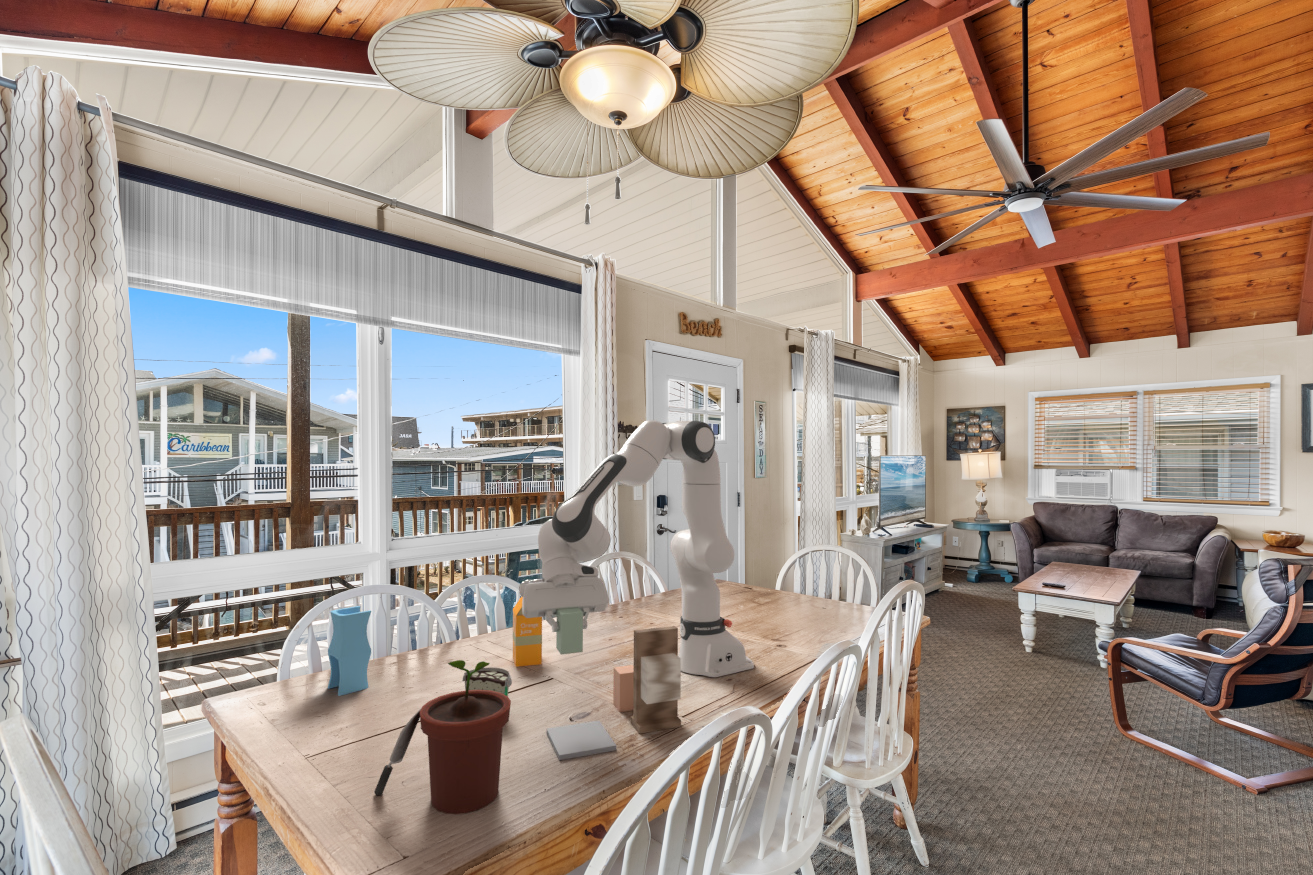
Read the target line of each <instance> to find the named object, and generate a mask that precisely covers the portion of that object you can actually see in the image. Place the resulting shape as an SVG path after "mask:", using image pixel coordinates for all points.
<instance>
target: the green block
mask: <svg viewBox="0 0 1313 875" xmlns="http://www.w3.org/2000/svg"><path fill="white" fill-rule="evenodd" d="M583 619H584V617H583V612H582V611H581V610H580V609H579V608H569V609H558V610H557V615H556V621H559V626H560V630H559V632H556V634H555V635H556V640H555V641H556V642H555V643H556V645H555V646H556V650H557V651H558V653H559V654H560V655H562V656H563V655H569V654H577V653H578V654H580V653H583V651H584V649H583V648H584V629H583Z"/></svg>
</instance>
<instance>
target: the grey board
mask: <svg viewBox="0 0 1313 875" xmlns="http://www.w3.org/2000/svg"><path fill="white" fill-rule="evenodd" d="M546 735H547V738H548V739H549V742H550V744H551V746H552V748H553V750H554V752H555V754H556V756H557V758H558V760H559V761H563V760H570V759H576V758H580V757H586V756H591V755H597V754H603V753H608V752H609V753H610V752H613V751H617V744H616V742H615V741H614V740H613V739H612V737H611V735H610V733H609V732H608V731H607V730H606V728H605V726H604V725H603V724H602V723H601V720H599V719H598V720H590V721H586V722H585V721H584V722H580V723H574V724H566V725H560V726H554V727H547V728H546Z"/></svg>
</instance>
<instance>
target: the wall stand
mask: <svg viewBox="0 0 1313 875" xmlns="http://www.w3.org/2000/svg"><path fill="white" fill-rule="evenodd" d="M678 640H679V629H678V627H676V626H675V625H673V626H662V627H661V626H660V627H654V628H644V629H643V628H642V629H635V630H633V666H634V690H633V710H632V711H633V713H632V714H633V715H630V719H629V720H630V724H631V726H632V727H633V728H634V729H635V730H636V732H637V733H638V734H640V735H641V734H646V733H652V732H656V731H657V732H659V731H663V730H668V729H675V728H681V727H682V719H681V718H680V717H679V716H678V712H679V710H678V702H679V700H681V698H682V697H681V695H682V694H681V692H682V690H681V688H682V687H681V686H682V683H681V682H682V680H681V679H682V677H681V676H682V675H681V674H682V673H681V672H682V671H681V658H680V657H678V656H679V641H678Z"/></svg>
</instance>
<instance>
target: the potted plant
mask: <svg viewBox="0 0 1313 875" xmlns="http://www.w3.org/2000/svg"><path fill="white" fill-rule="evenodd" d="M447 664H448V665H449V666H451V667H453V668H456V669H458V670H460V671H464V672H467V685H466V690H465V689H464V690H461V691H454V692H450V693H447V694H442V695H440V696H437V697H435V698H433V699H431V700H429V701H427V702H426V703H425V704H423V705H422V706H421V708H420V709H419V710H418V711H417V712H415V714H414V715H413V716H412V717H411V718H410V720H409V721H408V722H407V723H406V724H405V726H404V727H403V728H402V730H401V731H400V733H399V735H398V737H397V740H396V742H395V746H394V748H393V750H392V753H391V755H390V757H389V763H388V764H386V765H384V767H383V770H382V771H381V774H380V777H379V779H378V782H377V784H376V786H375V789H374V794H375V795H376V796H381V795H383V793H384V791H385V789H386V786H387V783H388V782H389V779H390V776H391V773H392V771H393V766H392V765H394V764H400V763H402V761H403V759H404V757H405V755H406V753H407V750H408V747H409V745H410V743H411V741H412V740H411V739H412V738H413V736H414V733H415V730H416V728H417V725H418V723H419V722H420V729H421V731H422V733H423V734H425V735H426V737H427V748H428V751H427V752H428V764H429V765H428V767H429V768H428V770H429V785H430V786H429V787H430V788H429V789H430V790H429V791H430V802H431V805H432V807H433V808H434V809H435V810H436V811H438V812H441V813H444V814H448V815H449V814H450V815H459V814H467V813H468V814H469V813H472V812H475V811H476V812H477V811H479V810H481V809H483V808H486V807H488V806H489V805H490V804H492V803H493V802H494V801H495V800H496V798H498V796H499V788H500V787H499V786H500V773H501V758H502V748H503V747H502V745H503V730H504V727H505V726H506V724H508V723H509V721H510V720H509V719H510V715H511V714H510V713H511V703H512V701H511V698H509V695H508V696H506V695H504V694H502V693H500V692H495V691H490V690H469V682H470V677H471V675H472V674H473V673H475V672H477V671H479V670H480V669H482V668H487V666H489V665H490V662H486V661H485V660H484V661H479V662H478V663H476V664H475V667H474V669H473V670H474V671H473V672H471V673H470V672H469V671H470V669H467V668H465V666H466V662H465V661H464V660H463V659H459V660H454V661H450V662H447Z"/></svg>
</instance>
